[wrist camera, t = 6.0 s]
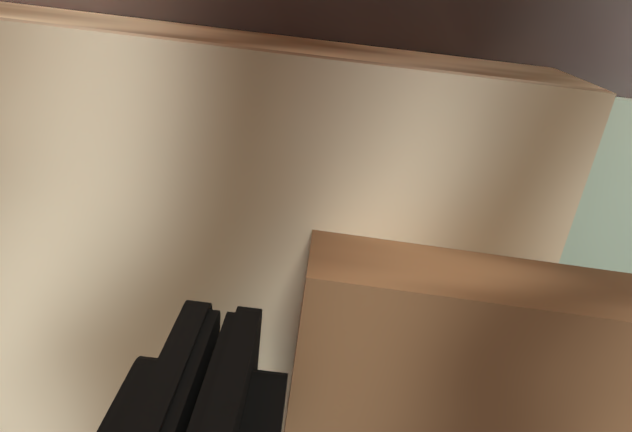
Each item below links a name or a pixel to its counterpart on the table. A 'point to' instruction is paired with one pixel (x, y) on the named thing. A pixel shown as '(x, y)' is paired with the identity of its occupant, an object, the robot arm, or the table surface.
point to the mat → (606, 201)
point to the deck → (243, 182)
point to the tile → (457, 342)
